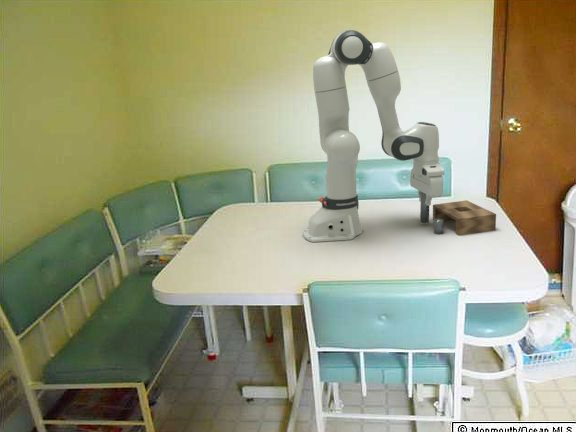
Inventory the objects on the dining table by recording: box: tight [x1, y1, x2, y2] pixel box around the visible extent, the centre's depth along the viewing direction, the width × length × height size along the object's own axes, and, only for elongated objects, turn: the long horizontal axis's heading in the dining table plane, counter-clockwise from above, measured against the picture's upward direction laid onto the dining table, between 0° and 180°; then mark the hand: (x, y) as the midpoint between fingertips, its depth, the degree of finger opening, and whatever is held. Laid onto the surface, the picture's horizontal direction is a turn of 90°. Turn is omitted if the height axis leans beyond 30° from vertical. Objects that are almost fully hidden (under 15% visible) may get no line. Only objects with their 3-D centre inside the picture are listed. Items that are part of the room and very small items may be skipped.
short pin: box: [433, 218, 444, 235], centre depth 173 cm, size 3×3×5 cm
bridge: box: [432, 200, 497, 236], centre depth 180 cm, size 14×20×6 cm
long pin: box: [419, 192, 430, 224], centre depth 181 cm, size 3×3×14 cm
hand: (424, 203), depth 181 cm, fingers closed on long pin, 3 cm apart
